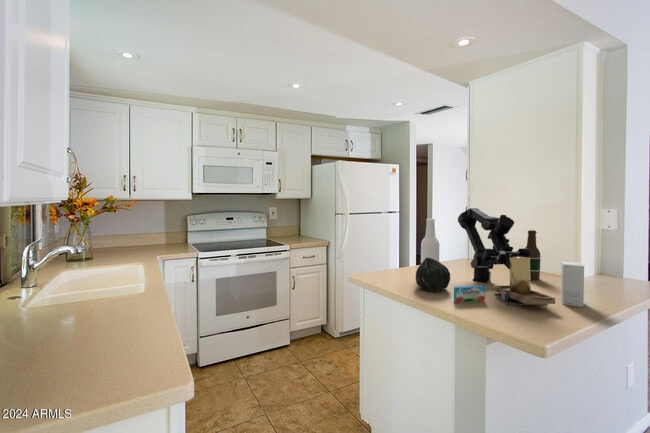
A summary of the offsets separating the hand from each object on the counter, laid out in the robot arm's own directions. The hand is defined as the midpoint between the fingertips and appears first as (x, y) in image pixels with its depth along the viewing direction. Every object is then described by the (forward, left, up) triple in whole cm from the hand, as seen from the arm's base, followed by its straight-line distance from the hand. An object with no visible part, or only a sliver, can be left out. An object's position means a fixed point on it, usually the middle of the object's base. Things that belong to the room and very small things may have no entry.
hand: (513, 272), depth 132 cm
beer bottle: (-1, +39, -11) cm, 40 cm away
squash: (-30, -10, -11) cm, 33 cm away
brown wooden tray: (+4, -4, -8) cm, 9 cm away
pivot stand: (+4, -4, -11) cm, 12 cm away
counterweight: (+3, -3, -7) cm, 9 cm away
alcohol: (-39, +7, -11) cm, 41 cm away
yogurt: (-12, -17, -11) cm, 23 cm away
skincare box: (+18, +7, -11) cm, 22 cm away
